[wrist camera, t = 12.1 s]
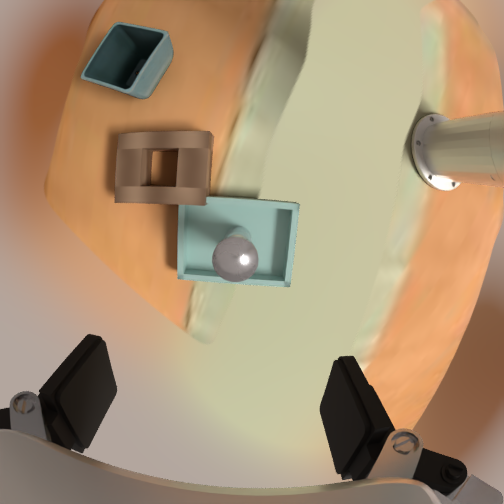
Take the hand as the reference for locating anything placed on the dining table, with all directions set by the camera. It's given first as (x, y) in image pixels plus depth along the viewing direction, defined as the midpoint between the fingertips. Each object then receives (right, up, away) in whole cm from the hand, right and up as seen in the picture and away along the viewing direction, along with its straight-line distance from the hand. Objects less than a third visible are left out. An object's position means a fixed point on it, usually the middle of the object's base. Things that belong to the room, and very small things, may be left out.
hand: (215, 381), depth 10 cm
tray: (-1, +7, +27) cm, 28 cm away
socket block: (-10, +16, +25) cm, 31 cm away
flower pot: (-14, +30, +21) cm, 39 cm away
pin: (0, +7, +27) cm, 28 cm away
